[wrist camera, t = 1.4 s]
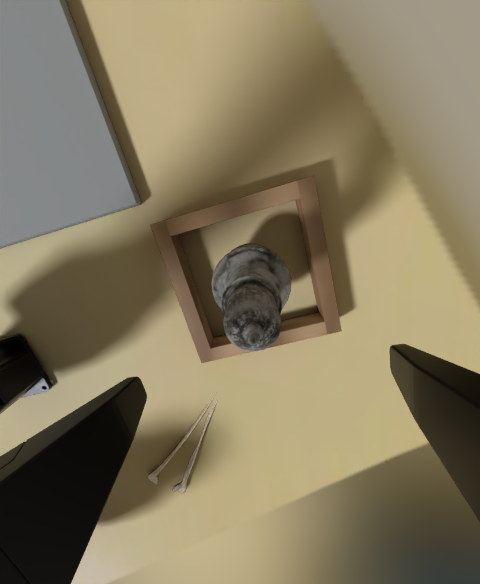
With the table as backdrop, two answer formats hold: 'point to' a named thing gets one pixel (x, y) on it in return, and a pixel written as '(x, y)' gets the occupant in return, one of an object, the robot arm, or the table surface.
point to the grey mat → (53, 128)
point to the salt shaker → (251, 295)
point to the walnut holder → (296, 190)
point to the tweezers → (154, 474)
